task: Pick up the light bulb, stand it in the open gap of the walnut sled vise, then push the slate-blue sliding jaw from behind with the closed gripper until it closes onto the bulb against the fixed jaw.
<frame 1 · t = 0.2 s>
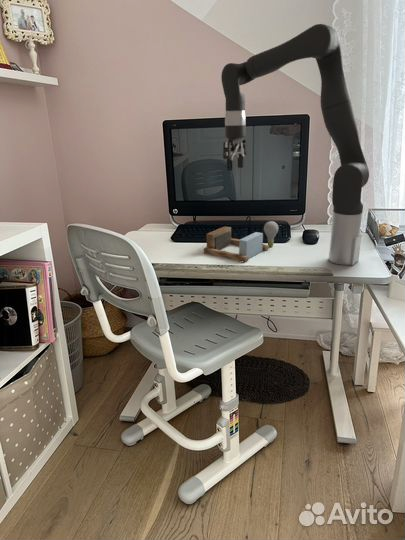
hand: (235, 169, 162), 28 cm above the table, fingers open, 8 cm apart
vise frame: (235, 251, 159), on the table
light bulb: (270, 247, 164), on the table
slide jaw: (250, 245, 155), point 4 cm above the table, slide at 0.0 cm
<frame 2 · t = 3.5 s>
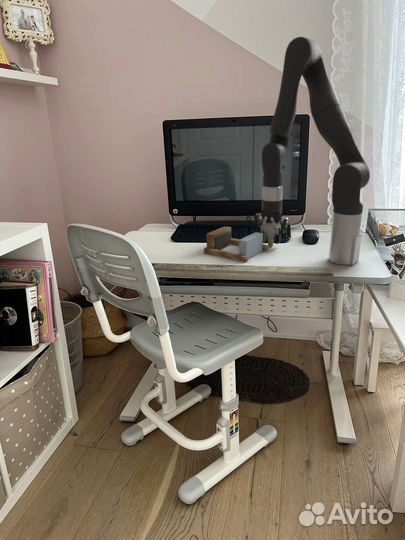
hand: (270, 242, 163), 2 cm above the table, fingers closed on light bulb, 5 cm apart
light bulb: (270, 247, 164), on the table, touching gripper
everything else where it was.
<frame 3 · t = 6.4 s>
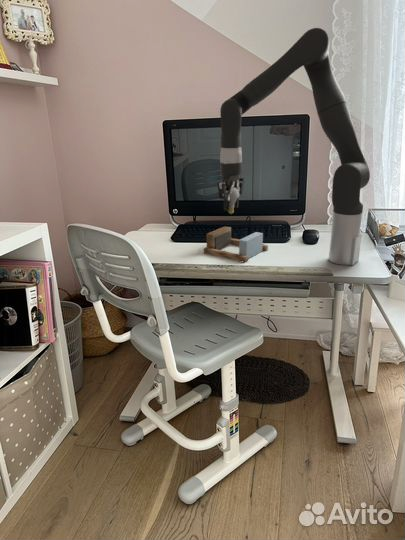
hand: (231, 208, 155), 16 cm above the table, fingers closed on light bulb, 5 cm apart
light bulb: (230, 214, 156), point 14 cm above the table, touching gripper
everything else where it was.
when the fingers open (3 cm above the table, at t = 9.0 s): light bulb drops 1 cm, resting in vise frame.
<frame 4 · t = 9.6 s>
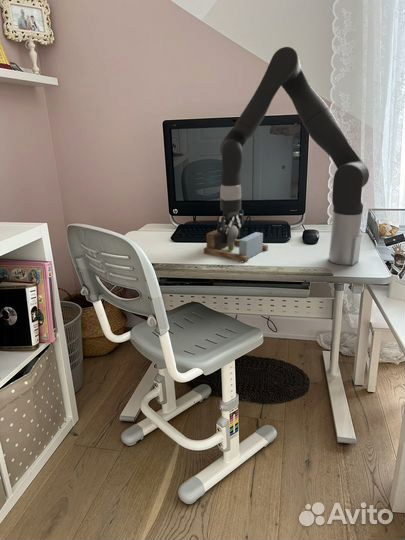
hand: (230, 240, 159), 4 cm above the table, fingers open, 8 cm apart
light bulb: (230, 251, 161), resting in vise frame
everything else where it was.
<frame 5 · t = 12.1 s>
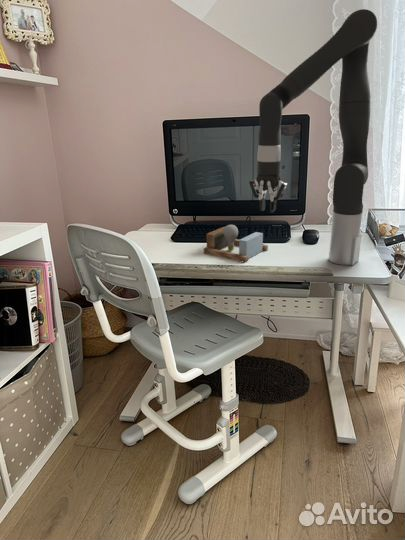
hand: (267, 210, 146), 17 cm above the table, fingers open, 3 cm apart
nothing on the table moved.
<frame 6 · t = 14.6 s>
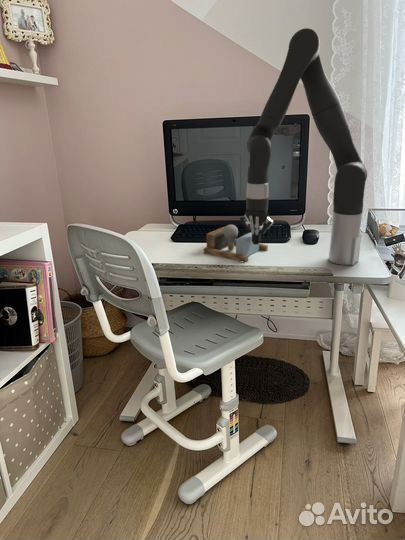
hand: (256, 243, 153), 5 cm above the table, fingers closed
slide jaw: (247, 244, 155), point 4 cm above the table, slide at 1.4 cm, touching gripper
everything else where it was.
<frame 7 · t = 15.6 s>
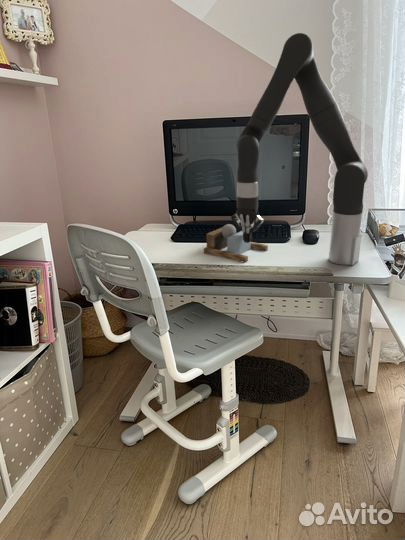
hand: (247, 242, 155), 5 cm above the table, fingers closed
light bulb: (230, 250, 161), resting in vise frame, touching slide jaw
slide jaw: (238, 243, 157), point 4 cm above the table, slide at 5.1 cm, touching gripper, light bulb
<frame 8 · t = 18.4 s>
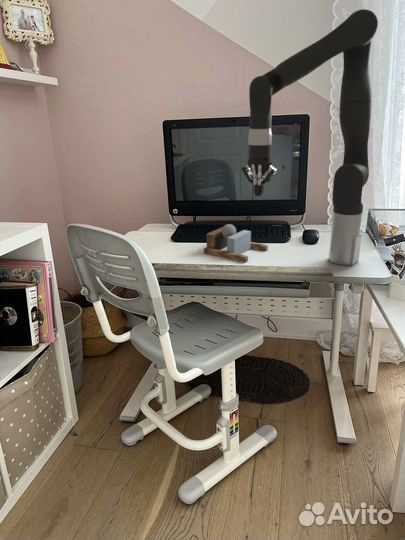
hand: (258, 195, 146), 22 cm above the table, fingers closed
slide jaw: (238, 243, 157), point 4 cm above the table, slide at 5.1 cm, touching light bulb
everything else where it was.
at the end: light bulb inside the target area on the vise frame (0.3 cm from its centre), point 0.0 cm above the vise frame's base; slide jaw slide at 5.1 cm; slide jaw touching light bulb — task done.
